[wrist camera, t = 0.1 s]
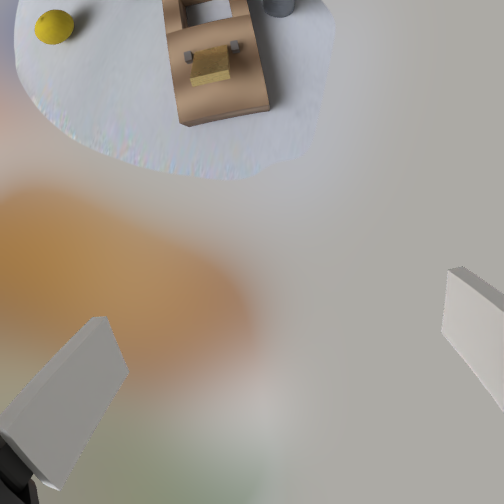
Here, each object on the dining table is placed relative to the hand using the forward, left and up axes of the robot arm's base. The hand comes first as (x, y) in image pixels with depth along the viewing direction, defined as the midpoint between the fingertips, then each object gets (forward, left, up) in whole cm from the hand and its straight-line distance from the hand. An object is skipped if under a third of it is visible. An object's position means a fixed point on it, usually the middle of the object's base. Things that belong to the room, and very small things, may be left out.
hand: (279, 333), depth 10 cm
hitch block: (-22, -3, -28) cm, 36 cm away
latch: (-17, -3, -21) cm, 27 cm away
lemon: (-34, -25, -28) cm, 51 cm away
